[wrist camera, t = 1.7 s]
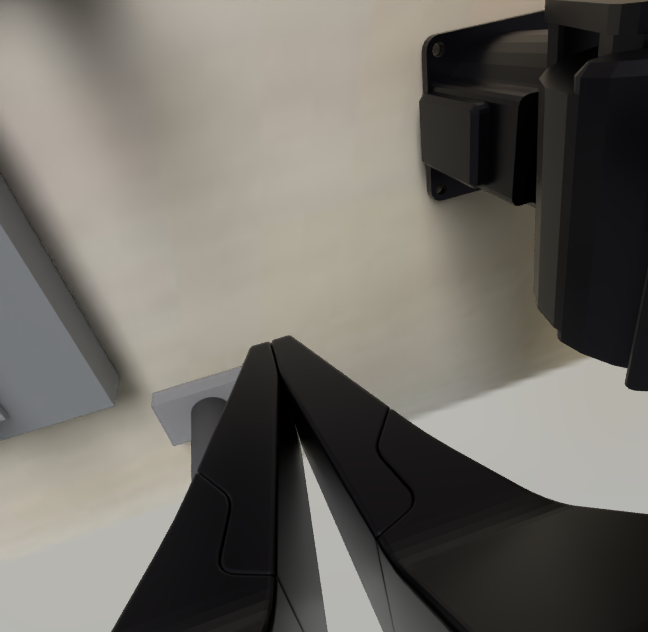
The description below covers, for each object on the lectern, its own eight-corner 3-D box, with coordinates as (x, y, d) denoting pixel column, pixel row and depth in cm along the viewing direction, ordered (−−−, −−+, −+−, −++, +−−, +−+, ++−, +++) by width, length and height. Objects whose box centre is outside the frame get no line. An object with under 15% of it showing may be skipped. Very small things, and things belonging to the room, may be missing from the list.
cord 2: (248, 363, 23) (282, 544, 15) (263, 404, 24) (300, 586, 16) (152, 393, 22) (131, 598, 14) (173, 432, 24) (166, 636, 16)
